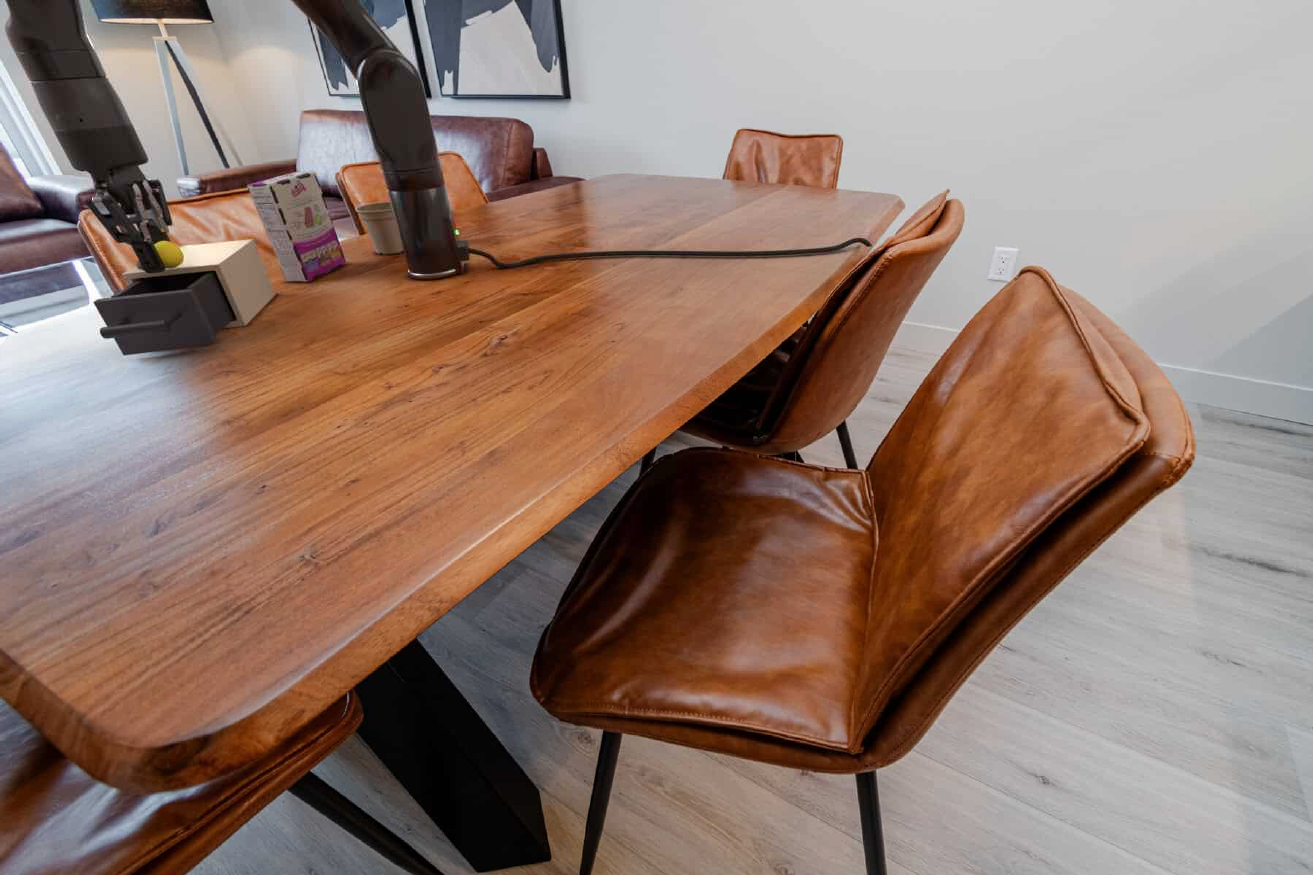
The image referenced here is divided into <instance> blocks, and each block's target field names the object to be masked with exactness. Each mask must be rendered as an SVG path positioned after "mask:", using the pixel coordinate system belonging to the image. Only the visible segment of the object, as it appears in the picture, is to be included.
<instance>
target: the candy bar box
mask: <svg viewBox="0 0 1313 875" xmlns="http://www.w3.org/2000/svg"><path fill="white" fill-rule="evenodd" d="M318 179H319V178H318V177H317V174H316V171H294V172H290V173H287V174H283V175H278V176H274V177H272V178H268V179H264V180H260V181H256V182H253V183H249V184H246V187H247V190H248V192H249V194H250V197H251V199H252V202H253V203H254V207H255V209H256V212H257V214H258V216H259V219H260V221H261V223H262V226H263V228H264V230H265V233H266V236H267V238H268V241H269V243H270V246H271V248H272V251H273V253H274V255H275V258H276V261H277V262H278V265H279V267H280V271H281V273H282V275H283V278H284V280H285V282H286V283H310V282H312V281H314V280H316V279H318V278H321V277H323V276H325V275H326V274H327V275H328V274H329V273H331V272H333V271H335V270H337V269H338V268H340V267H343V266H345V265H347V260H346V259H345V258H346V257H345V254H344V251H343V250H342V245H341V243H340V240H339V237H338V234H337V232H336V229H335V226H334V223H333V220H332V217H331V215H330V211H329V208H328V206H327V202H326V200H325V197H324V194H323V191H322V188H321V185H320V182H319V180H318Z"/></svg>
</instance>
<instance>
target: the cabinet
mask: <svg viewBox="0 0 1313 875" xmlns="http://www.w3.org/2000/svg"><path fill="white" fill-rule="evenodd" d="M177 246H178V247H179V248H180V249H181V250H182V252H183V254H184V261H183V262H182V264H180V265H179V266H177V267H175V268H172V269H167V268H165V270H164V271H163V272H159V273H146V272H145V271H143V270H140V269H138V268H137V267H136V265H135V266H133V267H132V268H130V269H128V270H126V271H125V272H123V273H121V276H122V278H123V280H124V281H125V283H126V286H129V285H131V284H132V283H134V282H136V281H137V280H139V279H141V278H146V277H156V276H166V275H175V274H185V273H195V272H205V271H214V270H216V273H217V275H218V278H219V280H220V282H221V284H222V287H223V289H224V291H225V293H226V296H227V298H228V300H229V302H230V305H231V307H232V309H233V311H234V314H235V317H234V318H233V319H232V320H231V321H230V322H229V323H228V324H227V325H226V326H225V327H224V328H223V329H229V328H237V327H238V328H239V327H246V326H247V325H248V324H249V323H250V322H251V321H252V320H253V319H254V318H255V317H256V316H257V314H259V313H260V312H261V311H262V309H263V308H264V307H265V306H266V305H268V303H269V302H270V301H271V300H272V299H273V298H274V297H275V296H276V292H275V289H274V286H273V283H272V281H271V279H270V277H269V274H268V271H267V269H266V266H265V264H264V262H263V259H262V257H261V254H260V251H259V249H258V247H257V244H256V242H255V239H254V238H251V239H239V240H238V239H237V240H230V241H219V242H209V243H198V244H197V243H196V244H189V245H187V244H186V245H177Z"/></svg>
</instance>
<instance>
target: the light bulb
mask: <svg viewBox="0 0 1313 875" xmlns="http://www.w3.org/2000/svg"><path fill="white" fill-rule="evenodd" d="M154 245H155V247H156V249H157V251H158V253H159V255H160V257H161V259H162V261H163V263H164V265H165V268H167V269H172V268H175V267H177V266H179V265H180V264H182V262H183V261H184V254H183V252H182V250H181V249H180V248H179V247H178V246H179V245H177V244H175V243H173V242H172V241H171V242H169V241H160V242H158V243H156V244H154ZM135 266H136V267H137V268H138V269H140V270H143V271H144V269H143V267H142V265H141V263H140V261H139V260H137V261H135Z"/></svg>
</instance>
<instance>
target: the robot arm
mask: <svg viewBox="0 0 1313 875" xmlns="http://www.w3.org/2000/svg"><path fill="white" fill-rule="evenodd" d="M5 2H6V5H7V9H8V11H9V17H8V19H7V20H6V22H5V25H4V32H5V34H6V38H7V40H8V42H9V45H10V47H11V48H12V51H13V52H14V54H15V56H16V59H17V60H18V62H19V63H20V66H21V67H22V69H23V71H24V73H25V75H26V77H27V79H28V81H29V82H30V86H32V89H33V91H34V94H35V97H36V99H37V102H38V104H39V106H40V109H41V111H42V113H43V115H44V116H45V119H46V120H47V122H48V124H49V126H50V128H51V129H52V131H53V133H54V135H55V137H56V139H57V141H58V143H59V145H60V147H61V148H62V150H63V152H64V154H65V156H66V158H67V159H68V161H69V163H70V165H71V167H72V168H73V169H74V170H75V171H78V172H86V173H88V174H89V175H90V177H91V180H92V184H93V187H94V190H95V191H96V194H95V195H94V196H88V197H87V196H86V197H84V202H85V204H86V206H87V207H88V208H89V210H90V211H91V213H93V215H94V217H95V218H96V219H97V220H98V221H99V222H100V224H101V225H102V226H103V227H104V229H105V230H106V231H107V232H108V234H109V235H110V236H111V237H112V238H113V239H114V241H115V242H116V243H117V244H126V245H128V246H131V248H132V250H133V252H134V254H135V255H136V257H137V259H138V261H140V263H141V265H142V267H143V269H144V271H145V272H146V273H159V272H163V271H164V270H165V265H164V263H163V261H162V259H161V257H160V255H159V253H158V251H157V249H156V247H155V245H154V244H156V243H158V242H160V241H169V242H171V243H172V240H171V239H170V237H169V235H168V234H169V233H170V228H169V227H173V224H174V223H173V219H172V216H171V212H170V208H169V205H168V202H167V198H166V195H165V192H164V188H163V187H164V186H163V185H162V182H161V180H160V179H148V178H147V176H146V175H145V174H144V173H143V171H142V170H141V168H140V166H142V165H145V164H147V163H148V162H149V157H148V155H147V153H146V150H145V148H144V146H143V144H142V142H141V140H140V137H139V135H138V133H137V131H136V129H135V127H134V125H133V122H132V121H131V119H130V116H129V113H128V112H127V110H126V108H125V106H124V104H123V101H122V99H121V98H120V96H119V94H118V93H117V91H116V89H115V88H114V86H113V85H112V82H111V81H110V78H108V74H107V73H106V70H105V68H104V65H103V64H102V61H101V60H100V58H99V56H98V53H97V51H96V49H95V47H94V46H93V44H92V42H91V40H90V38H89V36H88V33H87V29H86V25H85V19H84V12H83V9H82V6H81V1H80V0H5ZM290 2H291V3H292V4H293V5H294V6H295V8H297V9H298V10H299V11H300V12H301V13H302V14H303V15H304V16H305V17H306V18H307V19H308V20H309V21H310V22H311V23H312V24H313V25H314V26H315V27H316V28H317V29H318V30H319V31H320V33H322V35H323V36H324V37H325V38H326V40H328V42H329V43H330V45H331V46H332V47H333V49H334V50H335V52H336V53H337V54H338V56H339V57H340V59H341V60H342V62H343V63H344V64H345V66H346V67H347V69H348V71H349V72H350V74H351V75H352V76H353V78H354V79H355V81H356V86H357V91H358V95H359V96H358V97H359V99H360V103H361V106H362V111H363V113H364V117H365V120H366V124H367V128H368V131H369V135H370V138H371V142H372V145H373V149H374V152H375V154H376V156H377V159H378V163H379V167H380V169H381V173H382V176H383V180H384V184H385V189H386V191H387V195H388V199H389V201H390V203H391V207H392V210H393V214H394V218H395V221H396V225H397V229H398V233H399V236H400V240H401V244H402V247H403V251H402V252H403V254H404V258H405V261H406V267H407V269H408V274H409V277H410V278H413V279H417V280H436V279H441V278H442V279H443V278H447V277H451V276H454V275H458V274H460V275H461V274H463V273H464V269H465V262H468V261H470V257H471V255H476V256H479V257H483V258H486V259H488V260H489V261H490V262H491V263H492V264H493V265H494V266H496V267H498V268H502V269H513V268H514V269H515V268H519V267H524V266H528V265H531V264H535V263H538V262H546V261H555V260H556V261H557V260H565V259H566V260H567V259H578V258H579V259H581V258H596V257H599V258H600V257H627V256H629V257H630V256H634V257H635V256H638V257H639V256H641V257H642V256H643V257H644V256H648V257H649V256H653V257H654V256H658V257H659V256H661V257H662V256H663V257H664V256H665V257H669V256H670V257H672V256H673V257H677V256H678V257H777V256H778V257H779V256H795V255H796V256H797V255H813V254H823V253H825V254H826V253H832V252H836V251H839V250H842V249H845V248H847V247H849V246H851V245H854V244H857V243H860V244H862V245H864V246H865V247H867V248H871V247H873V245H872V244H871V242H870V241H869V239H866V238H864V237H854V238H851V239H848V240H846V241H844V242H842V243H839V244H837V245H833V246H832V245H831V246H824V247H815V248H800V249H782V250H781V249H779V250H745V251H744V250H742V251H741V250H740V251H739V250H738V251H733V250H732V251H731V250H730V251H729V250H726V251H725V250H724V251H723V250H606V251H604V250H603V251H602V250H601V251H583V252H571V253H570V252H569V253H557V254H548V255H547V254H546V255H540V256H539V255H538V256H535V257H531V258H528V259H525V260H522V261H518V262H513V263H508V262H507V263H505V262H501V261H499V260H497V258H495V256H493V254H490V253H488V252H486V251H483V250H479V249H475V248H471V247H470V246H469V242H468V240H467V239H466V240H460V238H459V230H458V228H457V223H456V220H455V215H454V211H453V210H452V209H451V205H450V204H451V203H450V200H449V194H448V191H447V185H446V182H445V177H444V173H443V168H442V164H441V158H440V153H439V149H438V143H437V139H436V135H435V132H434V128H433V122H432V119H431V113H430V109H429V104H428V99H427V95H426V90H425V86H424V82H423V79H422V77H421V74H420V72H419V70H418V69H417V67H416V66H415V65H414V64H413V63H412V62H411V61H410V59H408V57H406V56H405V54H404V53H403V52H402V51H401V50H400V49H399V48H398V47H397V46H396V45H395V43H394V42H393V41H392V40H391V39H390V38H389V35H387V34H386V32H384V30H383V29H382V28H381V27H380V25H379V24H378V23H377V21H375V19H374V18H373V17H372V15H371V14H370V13H369V10H367V9H366V6H364V4H363V3H362V1H361V0H290ZM118 227H119V229H118Z"/></svg>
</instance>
